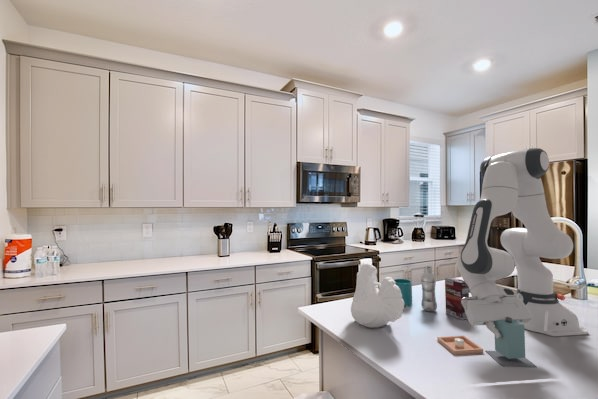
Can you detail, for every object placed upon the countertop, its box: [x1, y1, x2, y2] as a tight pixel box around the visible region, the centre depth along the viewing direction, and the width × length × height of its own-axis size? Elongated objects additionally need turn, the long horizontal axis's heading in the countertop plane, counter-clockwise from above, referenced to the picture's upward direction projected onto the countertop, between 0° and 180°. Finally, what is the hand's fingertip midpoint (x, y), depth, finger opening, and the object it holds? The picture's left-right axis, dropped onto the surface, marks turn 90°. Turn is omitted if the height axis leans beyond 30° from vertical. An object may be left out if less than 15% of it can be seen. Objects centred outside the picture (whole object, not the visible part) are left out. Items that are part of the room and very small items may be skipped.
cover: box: [494, 317, 526, 359], centre depth 93 cm, size 6×6×11 cm
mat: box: [485, 350, 538, 368], centre depth 93 cm, size 10×9×1 cm
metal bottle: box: [420, 266, 438, 312], centre depth 137 cm, size 6×7×20 cm
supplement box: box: [444, 276, 470, 321], centre depth 130 cm, size 9×5×16 cm, turn 23°
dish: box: [436, 335, 484, 356], centre depth 101 cm, size 10×10×3 cm
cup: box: [393, 278, 413, 307], centre depth 147 cm, size 9×12×11 cm
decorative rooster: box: [350, 262, 405, 329], centre depth 120 cm, size 25×16×25 cm, turn 17°
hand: (510, 337), depth 92 cm, fingers closed on cover, 5 cm apart
